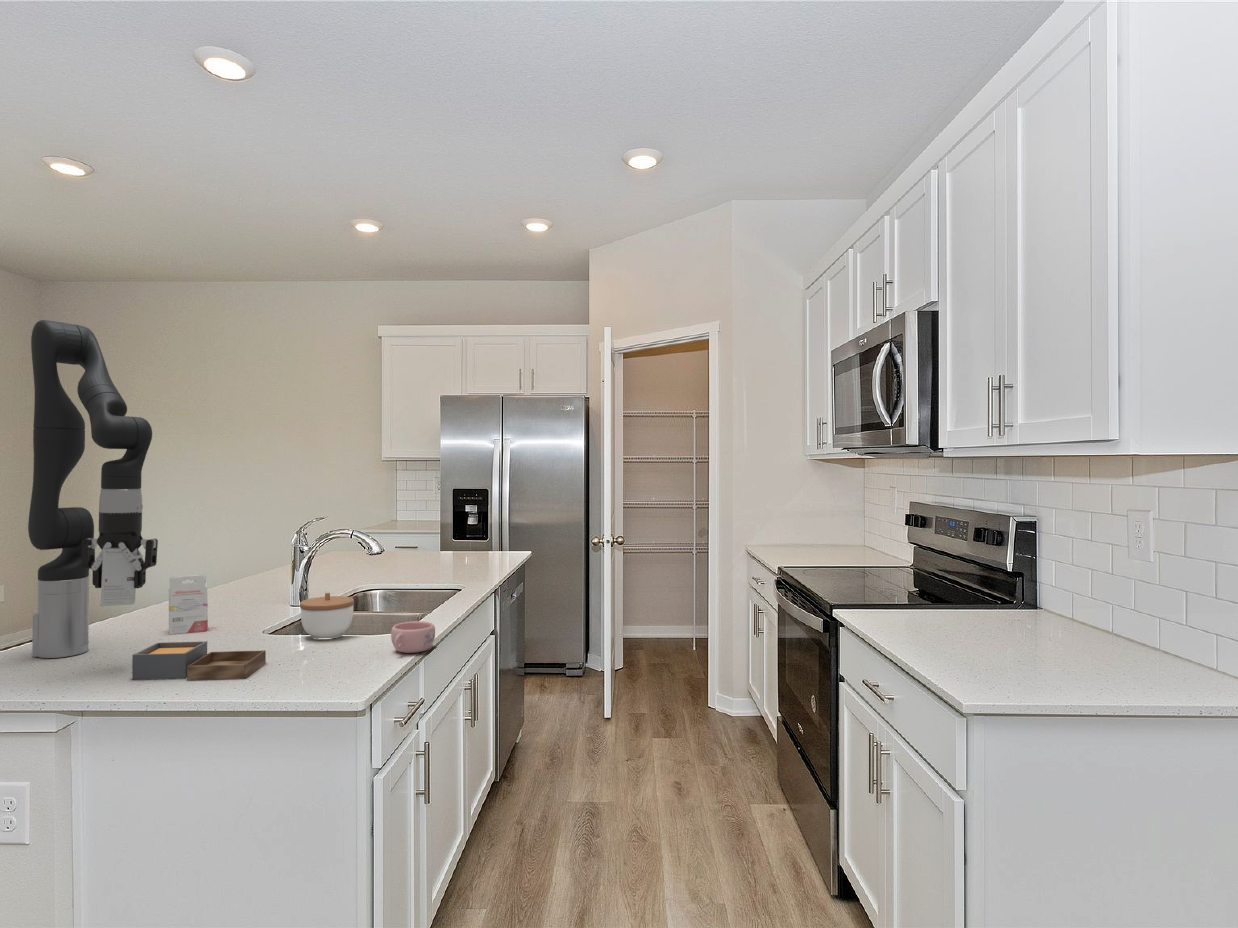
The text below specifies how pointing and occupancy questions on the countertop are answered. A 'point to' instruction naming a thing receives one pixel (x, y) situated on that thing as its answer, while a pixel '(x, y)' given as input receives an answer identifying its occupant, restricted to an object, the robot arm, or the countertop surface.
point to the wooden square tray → (226, 665)
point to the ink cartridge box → (188, 605)
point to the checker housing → (166, 661)
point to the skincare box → (117, 578)
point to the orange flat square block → (171, 650)
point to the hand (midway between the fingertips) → (119, 587)
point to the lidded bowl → (326, 616)
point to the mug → (412, 636)
